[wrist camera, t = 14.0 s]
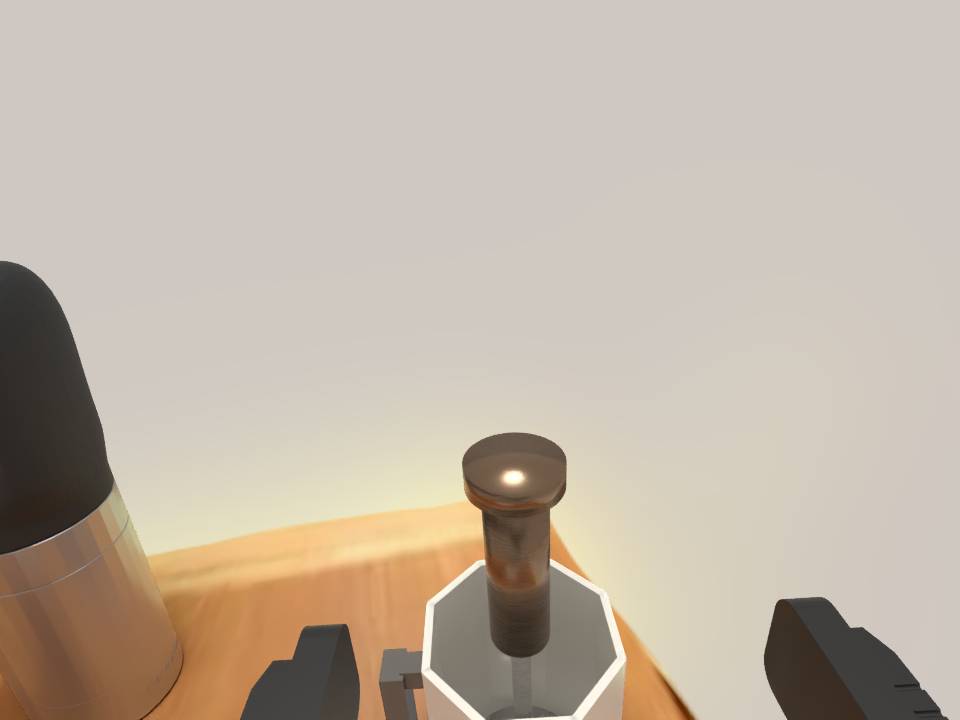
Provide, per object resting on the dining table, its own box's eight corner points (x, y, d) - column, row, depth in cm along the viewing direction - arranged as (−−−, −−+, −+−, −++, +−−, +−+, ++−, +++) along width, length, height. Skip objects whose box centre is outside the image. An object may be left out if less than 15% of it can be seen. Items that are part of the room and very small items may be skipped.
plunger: (459, 865, 29) (414, 529, 19) (460, 716, 36) (428, 419, 27) (606, 856, 29) (631, 516, 19) (578, 709, 36) (586, 409, 27)
